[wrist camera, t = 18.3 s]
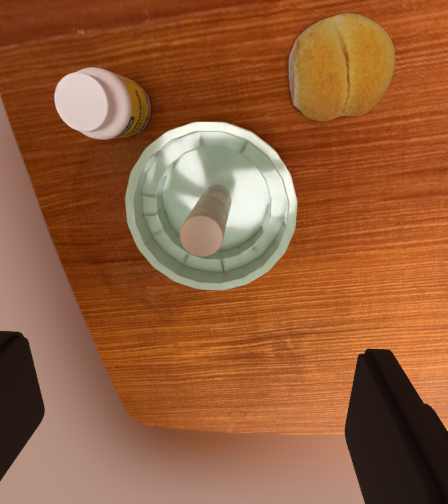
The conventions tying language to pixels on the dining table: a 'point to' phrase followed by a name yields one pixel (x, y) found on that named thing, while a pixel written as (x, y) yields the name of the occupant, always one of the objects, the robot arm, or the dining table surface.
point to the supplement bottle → (102, 104)
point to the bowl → (190, 190)
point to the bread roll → (340, 67)
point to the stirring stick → (206, 222)
